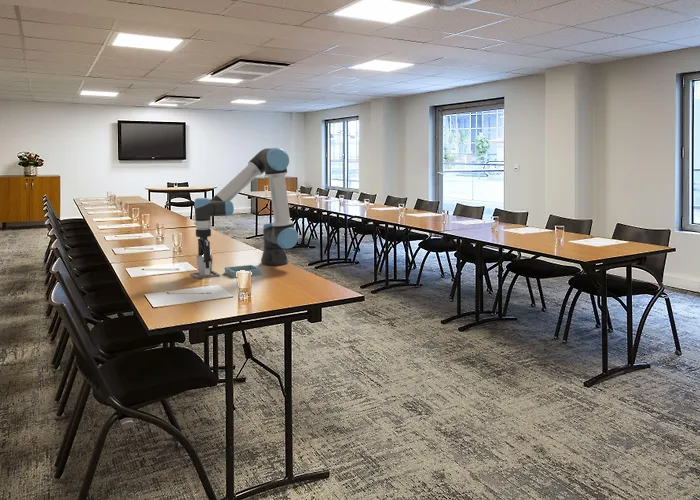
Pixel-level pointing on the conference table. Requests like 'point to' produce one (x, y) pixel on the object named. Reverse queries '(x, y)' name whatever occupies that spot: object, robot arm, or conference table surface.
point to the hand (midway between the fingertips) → (205, 273)
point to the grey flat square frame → (205, 276)
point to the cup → (202, 265)
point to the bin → (232, 270)
